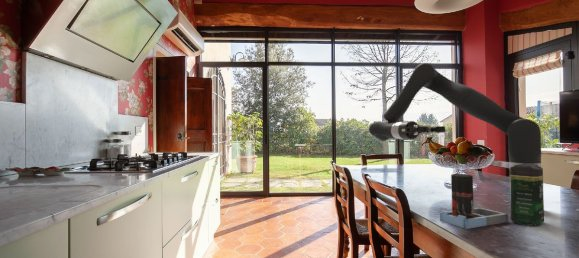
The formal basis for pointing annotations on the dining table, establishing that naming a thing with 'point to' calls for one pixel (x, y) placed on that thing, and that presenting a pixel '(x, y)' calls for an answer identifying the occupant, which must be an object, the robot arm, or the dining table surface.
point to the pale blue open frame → (475, 218)
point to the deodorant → (462, 195)
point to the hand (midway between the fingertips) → (435, 129)
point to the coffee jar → (527, 194)
